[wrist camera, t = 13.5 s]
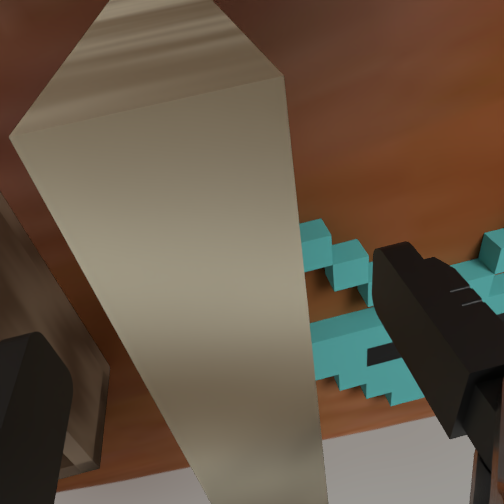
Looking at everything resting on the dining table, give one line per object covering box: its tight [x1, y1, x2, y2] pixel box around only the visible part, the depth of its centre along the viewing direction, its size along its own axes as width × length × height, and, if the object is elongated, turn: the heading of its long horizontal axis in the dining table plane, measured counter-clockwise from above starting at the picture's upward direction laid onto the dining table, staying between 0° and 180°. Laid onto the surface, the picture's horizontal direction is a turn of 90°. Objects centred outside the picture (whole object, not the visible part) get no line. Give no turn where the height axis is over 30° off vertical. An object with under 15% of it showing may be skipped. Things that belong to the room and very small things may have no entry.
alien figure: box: [299, 219, 504, 406], centre depth 31 cm, size 20×2×20 cm
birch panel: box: [9, 0, 328, 504], centre depth 14 cm, size 12×3×15 cm, turn 9°
